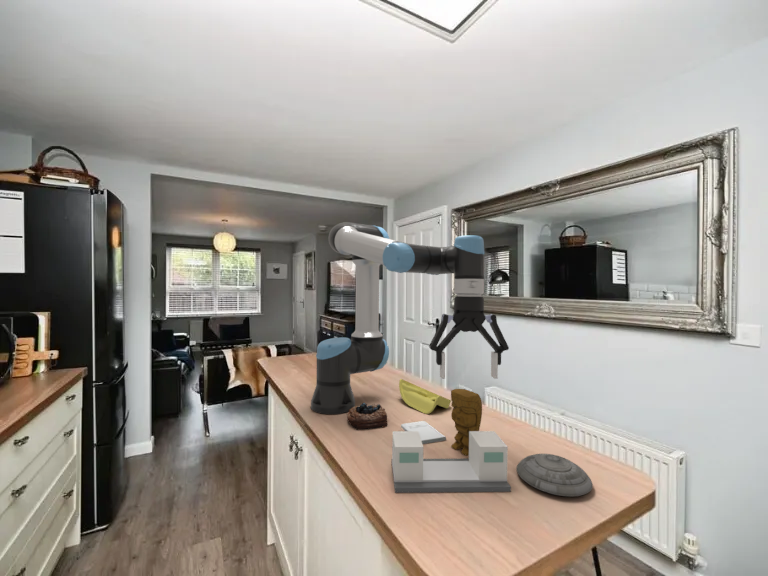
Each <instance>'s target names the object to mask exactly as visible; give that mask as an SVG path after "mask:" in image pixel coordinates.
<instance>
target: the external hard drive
mask: <svg viewBox="0 0 768 576" xmlns="http://www.w3.org/2000/svg"><path fill="white" fill-rule="evenodd" d="M400 428H401V429H402V431H418V432H419V435H420V438H421V441H422V444H423V445H426V444H432V443H438V442H444V441H447V437H446V436H445V435H444V434H442V432H440V431H438V430H437V429H436V428H435V427H433V426H432V425H430V423H428V422H427V421H426V420H419V421H413V422H405V423H402V424H400Z"/></svg>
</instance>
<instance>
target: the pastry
mask: <svg viewBox="0 0 768 576" xmlns="http://www.w3.org/2000/svg"><path fill="white" fill-rule="evenodd" d="M385 410H386V409H385V408H383V406H382V405H381V404H380V403H374V404H370V405H368V404H367V403H366V402H362V403H361V404H360V405H355V407H352V408H351V409H350V410H349V411H348V412H347V415H346V418H347V421H348V423H349V425H350V426H351V427H352V428H353V429H355V430H356V431H362V430H363V431H365V430H373V429H375V430H376V429H381V428H384V429H385V427H387V426H388V414H387V412H386V411H385Z"/></svg>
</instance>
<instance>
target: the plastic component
mask: <svg viewBox="0 0 768 576" xmlns="http://www.w3.org/2000/svg"><path fill="white" fill-rule="evenodd" d="M398 385H399V386H398V389H399V394H400V396H401V399H402V401H404V403H405V404H406V405H408V406H409V407H411V408H413V409H414V410H417V411H418V412H420V413H423V414H426V415H429V414H431V413H432V412H434V410H435V408H436V407H437V406H439V407H442V408H443V409H446V410H448V409H449V407H450V405H451V403H452V401H451V399H449V398H446V397H444V396H442V395H440V394H437V393H434V392H432V391H430V390H428V389H426V388H423V387H421V386H418V385H417V384H414V383H412V382H410V381H408V380H405V379H403V378H400V379H399V383H398Z"/></svg>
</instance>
